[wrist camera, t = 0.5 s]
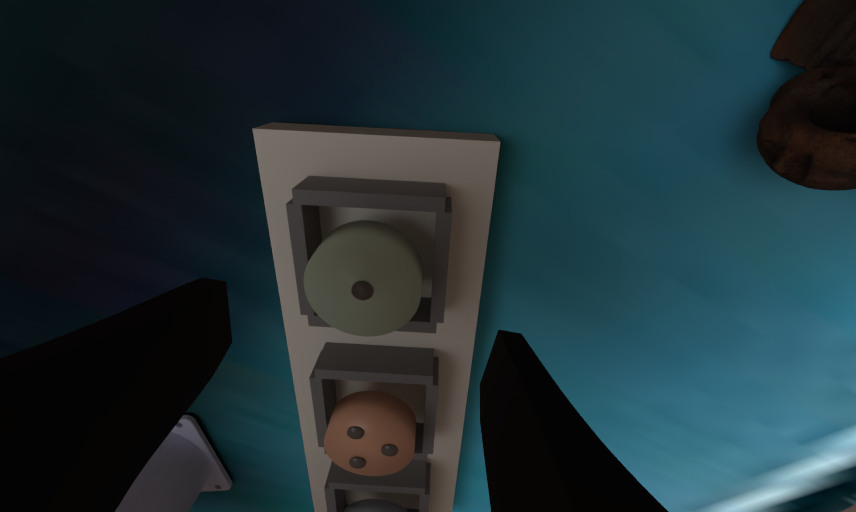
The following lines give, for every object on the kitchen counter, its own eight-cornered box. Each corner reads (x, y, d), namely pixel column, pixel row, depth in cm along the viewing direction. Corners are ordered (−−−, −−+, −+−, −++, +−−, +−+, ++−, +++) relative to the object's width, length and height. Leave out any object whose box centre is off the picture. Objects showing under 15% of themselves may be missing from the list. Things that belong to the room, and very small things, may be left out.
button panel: (449, 501, 29) (450, 562, 26) (323, 493, 29) (307, 552, 26) (494, 134, 16) (508, 151, 13) (272, 122, 17) (226, 136, 13)
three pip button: (415, 451, 20) (413, 480, 19) (335, 446, 20) (326, 475, 19) (417, 393, 18) (415, 421, 17) (328, 388, 18) (319, 415, 17)
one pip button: (421, 317, 16) (418, 341, 15) (320, 311, 16) (309, 335, 15) (425, 223, 14) (423, 240, 13) (310, 216, 14) (296, 233, 13)
